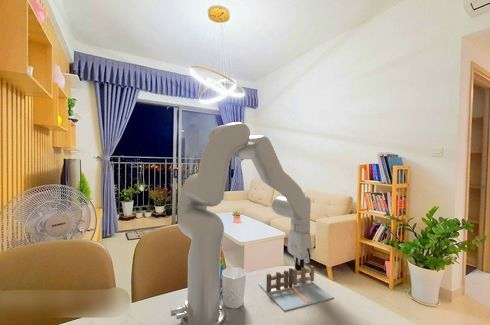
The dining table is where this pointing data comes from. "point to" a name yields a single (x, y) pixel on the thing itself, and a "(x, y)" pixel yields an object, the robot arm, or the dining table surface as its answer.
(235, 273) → the white cup
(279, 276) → the fence fixed
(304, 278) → the fence fold
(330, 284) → the dining table surface
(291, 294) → the card
